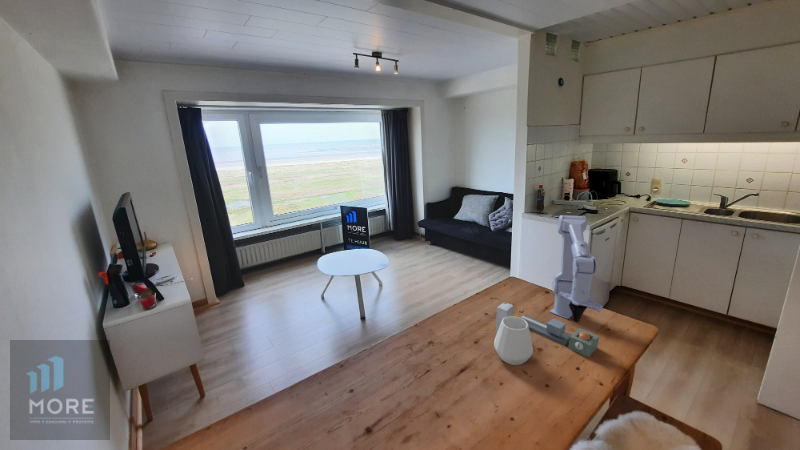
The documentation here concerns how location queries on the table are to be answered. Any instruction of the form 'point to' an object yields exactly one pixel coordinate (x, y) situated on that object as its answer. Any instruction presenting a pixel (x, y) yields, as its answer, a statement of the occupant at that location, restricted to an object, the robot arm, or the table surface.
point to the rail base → (541, 329)
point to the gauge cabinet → (583, 343)
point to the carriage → (556, 327)
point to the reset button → (584, 336)
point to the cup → (513, 341)
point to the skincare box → (503, 313)
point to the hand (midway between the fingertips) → (576, 321)
